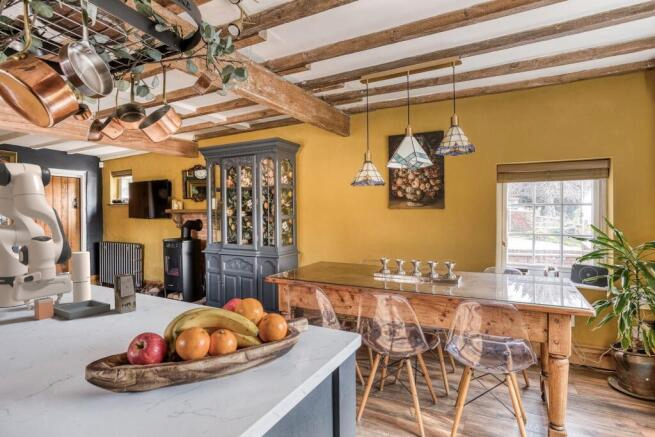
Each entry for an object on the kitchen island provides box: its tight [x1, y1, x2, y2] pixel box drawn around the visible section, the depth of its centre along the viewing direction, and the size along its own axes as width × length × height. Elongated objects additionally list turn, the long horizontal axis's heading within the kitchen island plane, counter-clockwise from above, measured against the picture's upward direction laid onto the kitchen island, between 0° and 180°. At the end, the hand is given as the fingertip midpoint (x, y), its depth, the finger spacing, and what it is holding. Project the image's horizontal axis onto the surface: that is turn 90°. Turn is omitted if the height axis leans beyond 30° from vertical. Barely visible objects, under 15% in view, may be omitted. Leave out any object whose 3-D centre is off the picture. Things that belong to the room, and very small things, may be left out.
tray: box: [53, 299, 111, 321], centre depth 159 cm, size 17×16×3 cm
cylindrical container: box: [71, 251, 92, 303], centre depth 175 cm, size 7×7×25 cm
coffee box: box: [113, 272, 137, 314], centre depth 162 cm, size 9×6×16 cm
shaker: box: [33, 296, 55, 321], centre depth 152 cm, size 5×5×8 cm
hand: (44, 307), depth 152 cm, fingers open, 8 cm apart
